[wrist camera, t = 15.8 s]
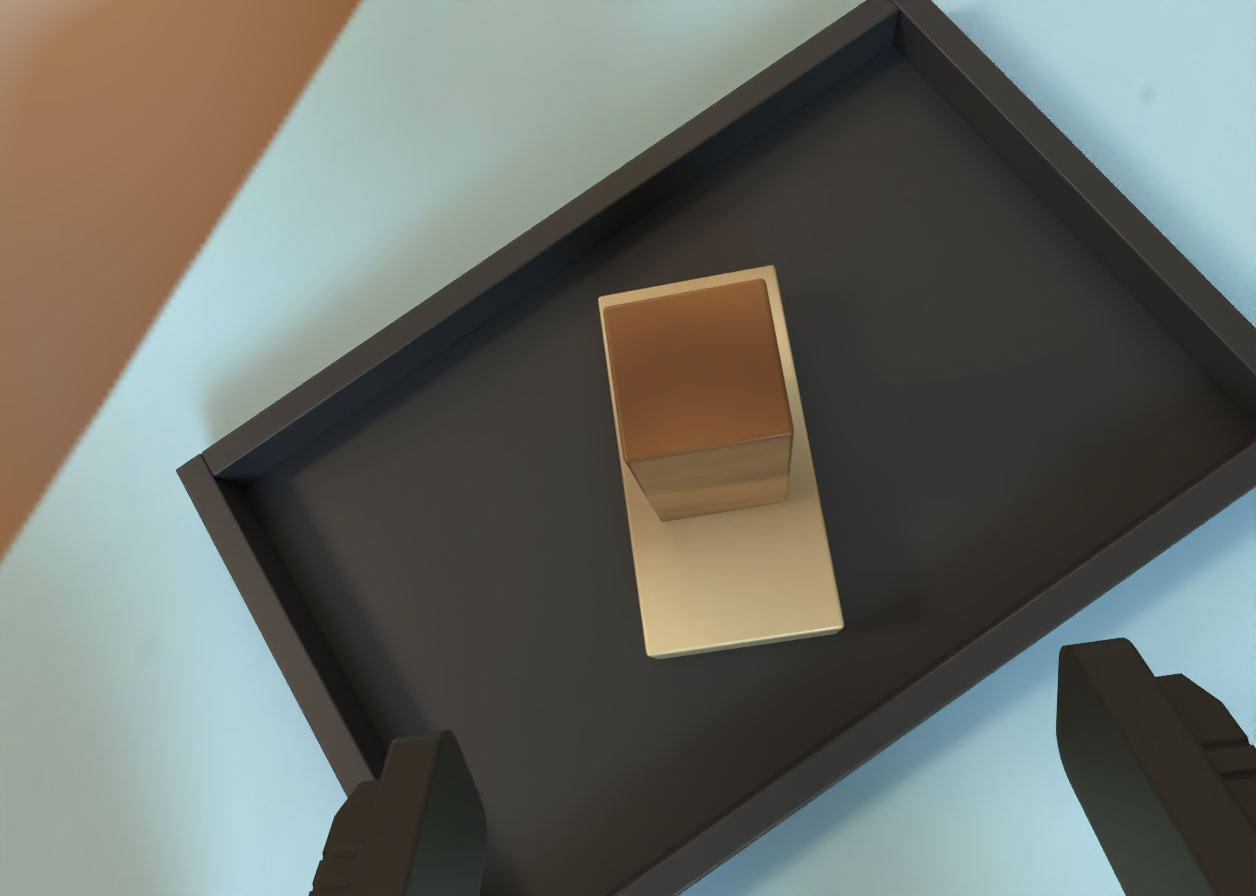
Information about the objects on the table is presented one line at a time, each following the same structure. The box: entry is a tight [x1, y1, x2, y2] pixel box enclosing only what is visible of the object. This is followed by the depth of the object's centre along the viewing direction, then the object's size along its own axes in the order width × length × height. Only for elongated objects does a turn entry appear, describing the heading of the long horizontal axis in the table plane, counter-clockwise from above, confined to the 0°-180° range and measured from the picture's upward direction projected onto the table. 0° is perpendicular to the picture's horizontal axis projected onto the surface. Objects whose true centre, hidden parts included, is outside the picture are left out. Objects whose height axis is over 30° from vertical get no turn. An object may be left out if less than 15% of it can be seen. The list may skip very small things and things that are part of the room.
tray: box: [176, 0, 1256, 896], centre depth 24 cm, size 24×16×2 cm, turn 124°
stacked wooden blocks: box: [598, 265, 844, 659], centre depth 21 cm, size 9×4×8 cm, turn 8°
